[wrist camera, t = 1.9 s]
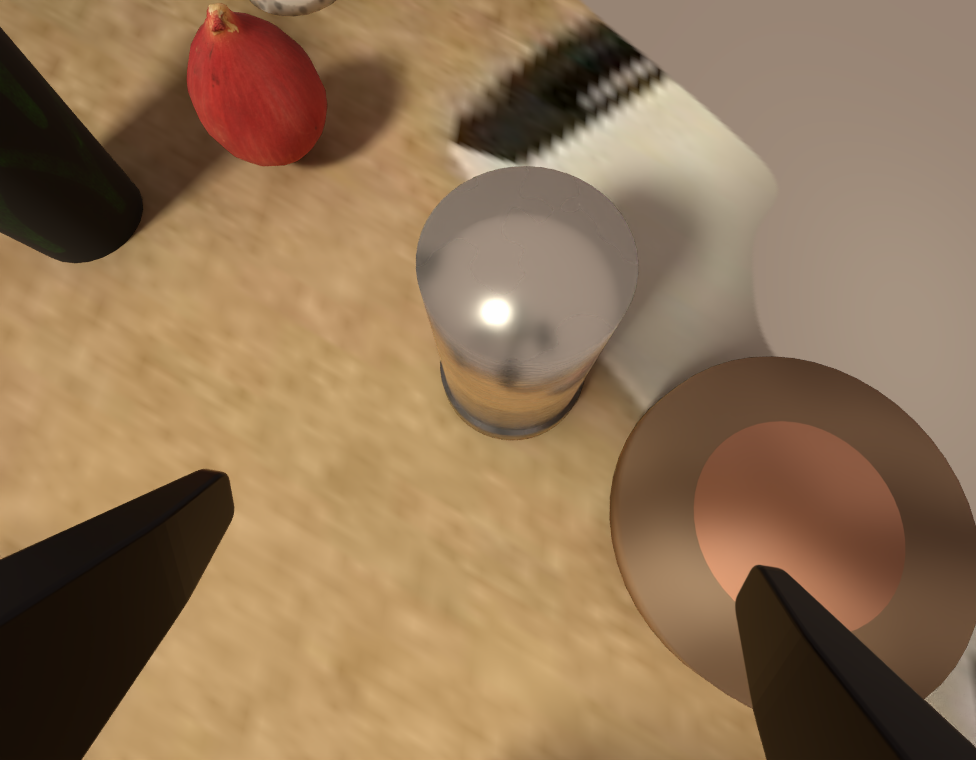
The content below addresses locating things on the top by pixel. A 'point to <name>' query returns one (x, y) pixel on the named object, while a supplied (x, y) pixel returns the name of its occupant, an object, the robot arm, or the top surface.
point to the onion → (255, 88)
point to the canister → (523, 294)
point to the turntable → (793, 517)
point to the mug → (291, 6)
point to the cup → (56, 172)
